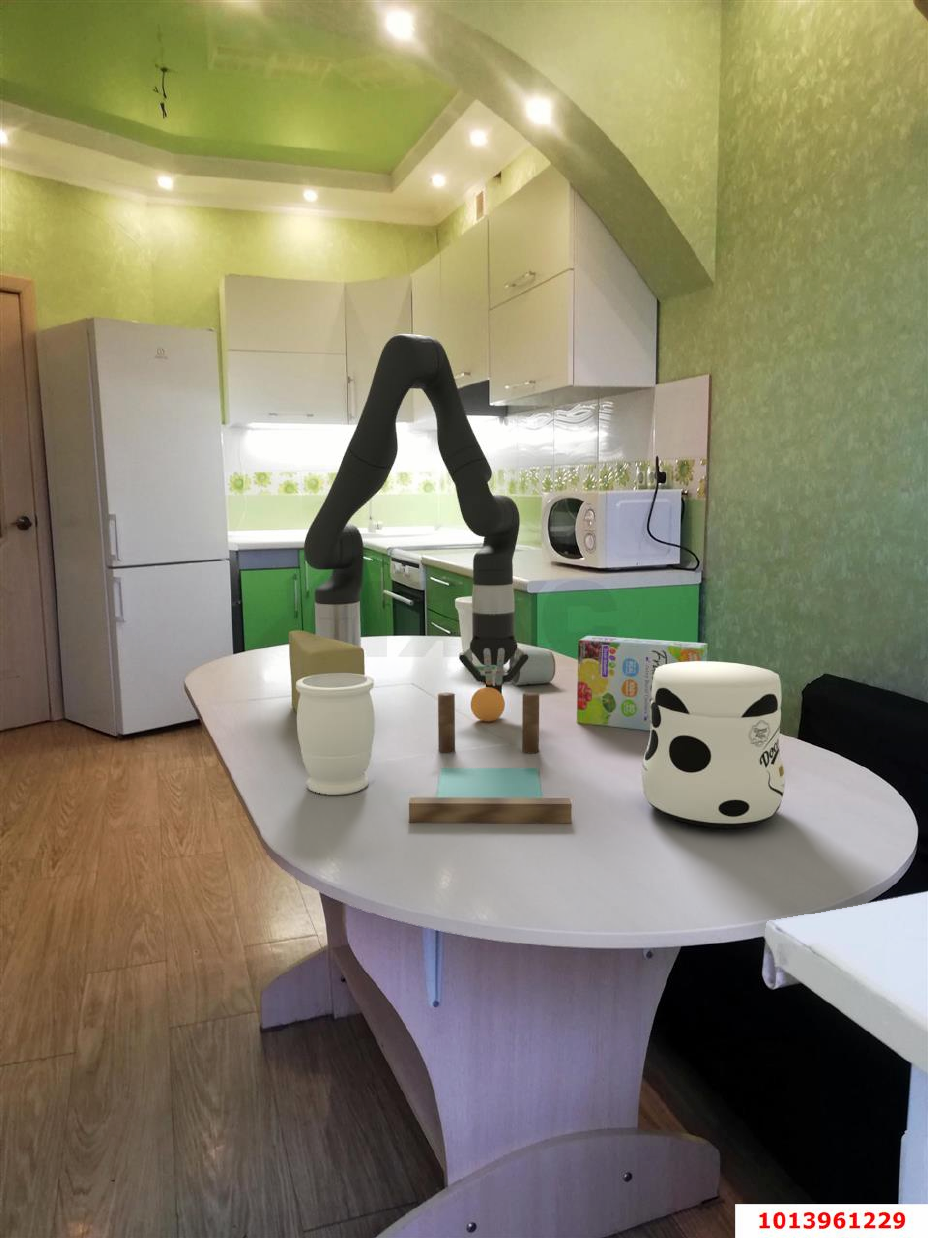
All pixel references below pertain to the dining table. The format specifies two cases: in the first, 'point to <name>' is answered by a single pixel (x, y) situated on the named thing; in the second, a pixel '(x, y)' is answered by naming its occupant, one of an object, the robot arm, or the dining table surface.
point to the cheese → (320, 658)
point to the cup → (467, 626)
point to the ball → (487, 704)
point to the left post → (446, 722)
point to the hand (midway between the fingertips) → (494, 704)
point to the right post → (530, 723)
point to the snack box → (624, 677)
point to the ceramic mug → (535, 667)
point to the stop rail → (489, 810)
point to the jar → (336, 731)
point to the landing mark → (489, 783)
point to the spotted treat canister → (714, 744)
